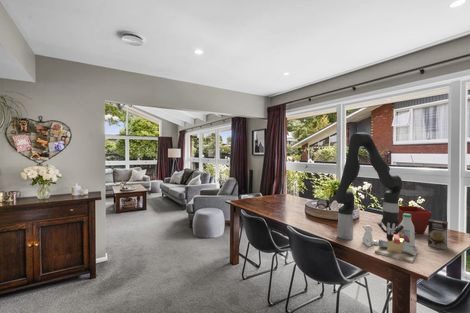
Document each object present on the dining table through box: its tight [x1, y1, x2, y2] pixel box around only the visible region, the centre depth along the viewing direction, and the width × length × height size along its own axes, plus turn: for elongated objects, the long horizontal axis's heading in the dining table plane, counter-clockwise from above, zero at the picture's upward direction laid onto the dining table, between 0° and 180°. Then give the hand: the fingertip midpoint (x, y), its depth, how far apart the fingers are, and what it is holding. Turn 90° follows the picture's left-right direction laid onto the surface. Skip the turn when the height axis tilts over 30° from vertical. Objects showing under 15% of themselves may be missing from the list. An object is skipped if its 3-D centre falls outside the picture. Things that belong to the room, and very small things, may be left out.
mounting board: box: [374, 246, 419, 264], centre depth 136 cm, size 18×16×2 cm
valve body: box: [377, 237, 416, 256], centre depth 136 cm, size 17×7×7 cm, turn 44°
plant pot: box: [396, 205, 432, 234], centre depth 176 cm, size 19×19×17 cm
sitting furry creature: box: [362, 224, 379, 247], centre depth 151 cm, size 10×9×12 cm
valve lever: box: [393, 232, 400, 244], centre depth 131 cm, size 15×4×3 cm, turn 147°
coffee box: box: [427, 218, 449, 250], centre depth 146 cm, size 9×6×16 cm
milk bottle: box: [399, 213, 416, 248], centre depth 148 cm, size 8×8×20 cm
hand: (389, 240), depth 131 cm, fingers closed
